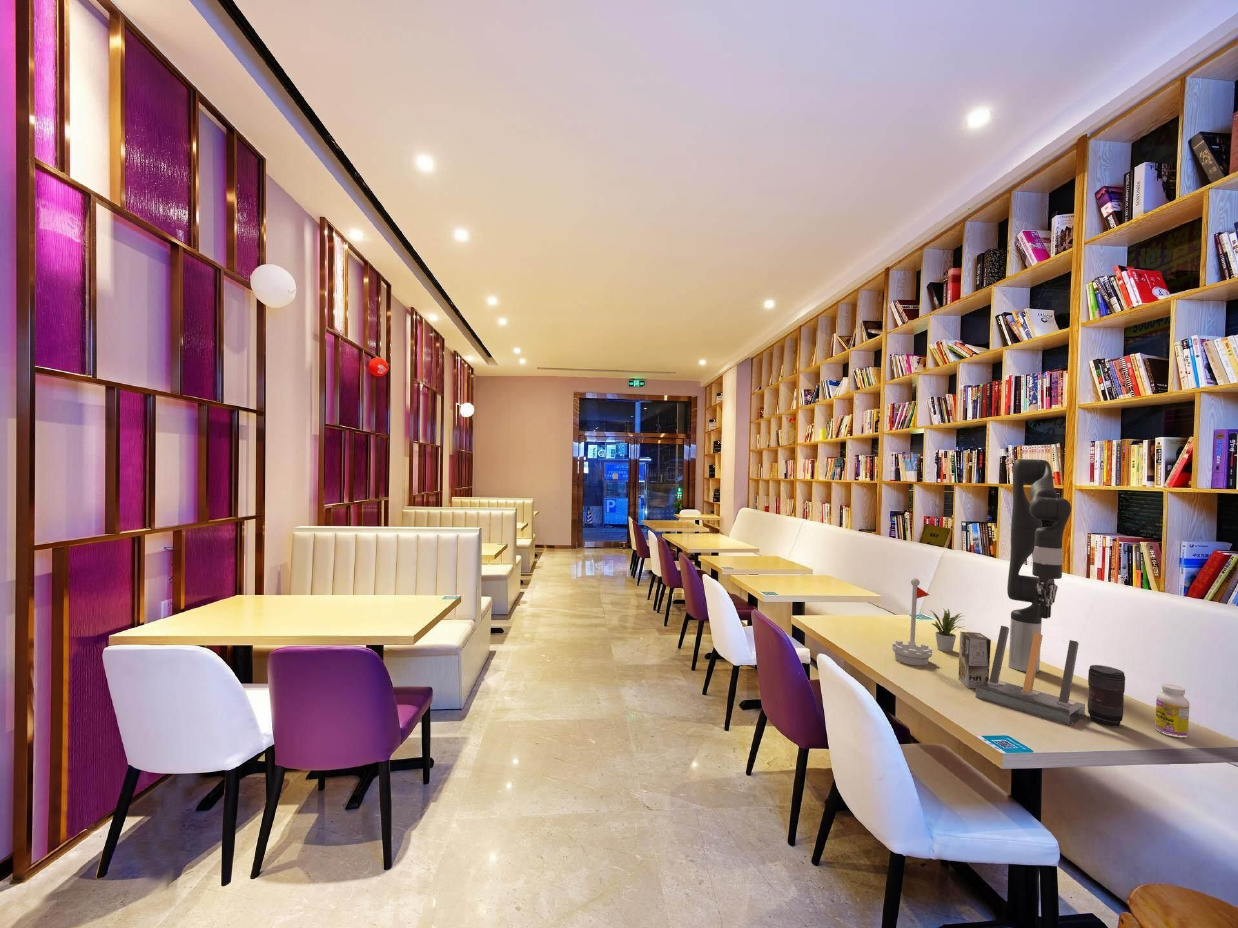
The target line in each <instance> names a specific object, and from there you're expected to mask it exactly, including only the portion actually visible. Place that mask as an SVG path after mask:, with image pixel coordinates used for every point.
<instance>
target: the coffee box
mask: <svg viewBox="0 0 1238 928" xmlns="http://www.w3.org/2000/svg"><path fill="white" fill-rule="evenodd" d="M991 642H992V639H990V638H989V637H987V636H985V635H984V634H982V632H981V633H980V632H972V631H960V632H959V654H958V680H959V681H960V682H961V683H962V684H963V685H964V686H965V687H966V688H968V689H975V690H976V687H978V685H982V684H984V683H986V682H988V680H990V663H991V662H990V661H991V644H992V643H991Z"/></svg>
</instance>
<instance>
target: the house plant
mask: <svg viewBox="0 0 1238 928" xmlns="http://www.w3.org/2000/svg"><path fill="white" fill-rule="evenodd" d="M942 609H943V611H944V612H943V617H942V620H940V617H938V615H937V614H936V613H935V612H934V611H933V610H930V609H929V611H930V612H931V613H932V615H933V616H934V617H935V619H934V622H935V623H931V625H932V626H934V627H935V628H936V629H937V630H938V631H936V632H935V638H936V648H937V650H939V651H941V652H945V653H952V652H953V650H954V646H955V642H956V638H957V635H956V634H954V632H956V631H957V630H959V629H963V630H964V627H962V626H956V623H958V622H959V621H962V620H963V621H964V619H960V618H963V617H964V615H962V614H963V612H961V613H960V612H959V613H957V614H956V615H954V616H953V617H951V613H950V609H949V608H947V610H945V608H942ZM955 621H956V622H955ZM956 628H957V629H956ZM955 629H956V630H955ZM953 630H954V631H953Z"/></svg>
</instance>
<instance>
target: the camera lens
mask: <svg viewBox="0 0 1238 928" xmlns="http://www.w3.org/2000/svg"><path fill="white" fill-rule="evenodd" d="M1087 679H1088V680H1087V683H1088V694H1087V696H1088V697H1087V713H1088V715H1089V720H1091V722H1093V723H1096V724H1097V725H1102V726H1105V727H1106V726H1107V727H1110V728H1119V727H1121V722H1122V721H1123V717H1124V707H1125V705H1124V699H1125V698H1124V697H1125V691H1126V690H1125V689H1126V688H1125V687H1126V676H1125V672H1124V671H1123V670H1121V669H1118V668H1116V667H1112V666H1108V665H1101V664H1100V665H1099V664H1092V665H1090V666H1089V669H1088V678H1087Z"/></svg>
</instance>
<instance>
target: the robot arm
mask: <svg viewBox="0 0 1238 928" xmlns="http://www.w3.org/2000/svg"><path fill="white" fill-rule="evenodd" d="M1025 486H1030V488H1029V495H1030V498H1031V501H1029V499H1028V498H1027V495H1026V493H1025V489H1024V487H1025ZM1071 512H1072V505H1071V503H1070V501H1069V500H1068V499H1066V498H1063V497H1061V498H1060V497H1059V495H1058V492H1057V491H1056V489H1055V486H1054V477H1053V471H1052V466H1051V464H1050V463H1049V461H1048V460H1046V459H1028V458H1027V459H1026V458H1025V459H1023V458H1022V459H1021V458H1018V459H1016V460H1015V461H1014V462H1013V465H1012V514H1011V523H1010V559H1009V567H1008V568H1009V569H1008V576H1007V588H1006V589H1007V597H1008V598H1009V599H1010V600H1011V601H1016V602H1017V601H1019V602H1025V603H1026V602H1027V603H1031V604H1030V605H1029V606H1027V607H1024V608H1019V609H1018V608H1017V609H1013V610H1011V612H1010V628H1009V646H1008V650H1009V651H1008V667H1009V668H1011V669H1012V670H1016V671H1020V672H1024V673H1026V671H1027V666H1028V661H1029V656H1030V651H1031V646H1032V641H1033V636H1034V633H1039V634H1042V622H1043V621H1042V619H1044V620H1045V619H1050V618H1051V616H1052V615H1051V614H1052V606H1053V604H1054V603H1055V600H1056V595H1057V591H1058V588H1059V587H1058V585H1057V584H1056V583H1055V580H1060V579H1062V577H1063V559H1064V555H1063V539H1064V538H1063V537H1064V532H1065V528H1066V526H1067V523H1068V521H1069V518H1070V516H1071ZM1042 520H1043V521H1054V523H1053V524H1052V525H1051V526H1044V527H1043V522H1042ZM1031 555H1032V571H1031V574H1032V575H1033V576H1031V575H1030V576H1029V575H1023V574H1021V575H1020V571H1021V569H1022V566H1023V564H1024V563H1025V562H1026V561H1027V559H1028V558H1029V557H1031ZM1040 663H1041V651H1040V652H1039V658H1038V663H1037V668H1036V673H1040Z"/></svg>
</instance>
